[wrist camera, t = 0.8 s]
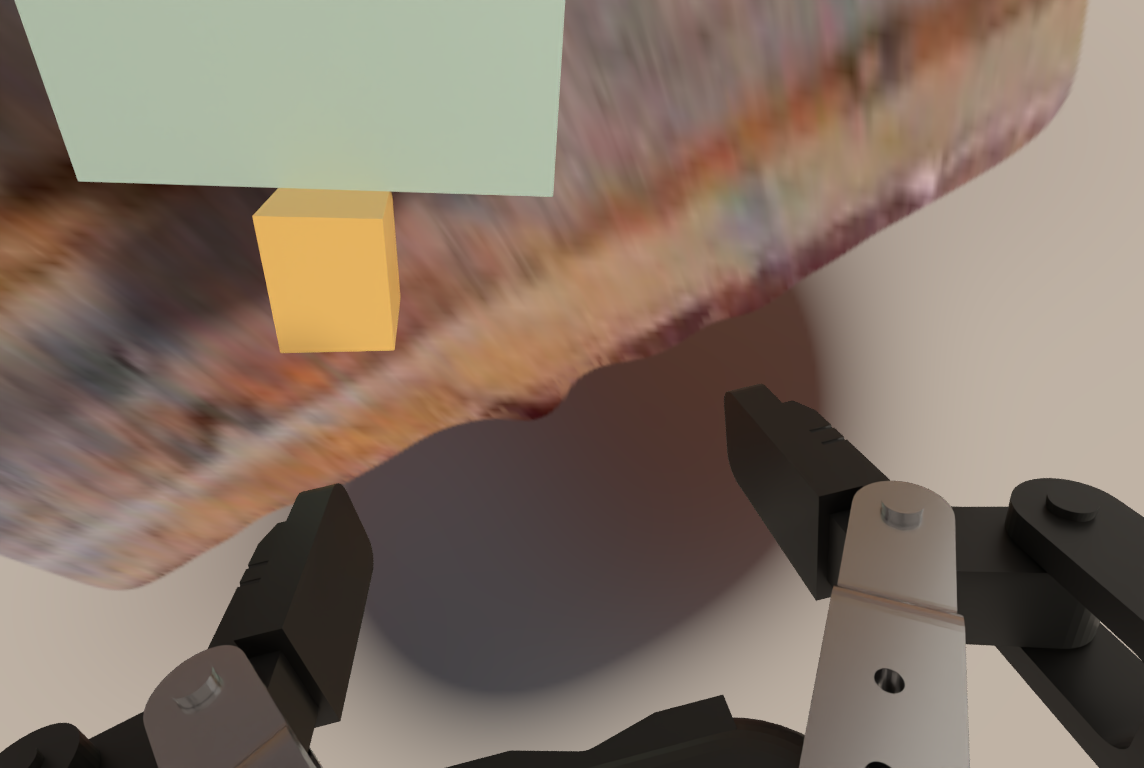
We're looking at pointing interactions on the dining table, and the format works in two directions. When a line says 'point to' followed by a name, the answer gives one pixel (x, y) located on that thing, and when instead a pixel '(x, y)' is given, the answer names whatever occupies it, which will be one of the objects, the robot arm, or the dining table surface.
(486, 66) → the lid
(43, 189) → the dining table surface
